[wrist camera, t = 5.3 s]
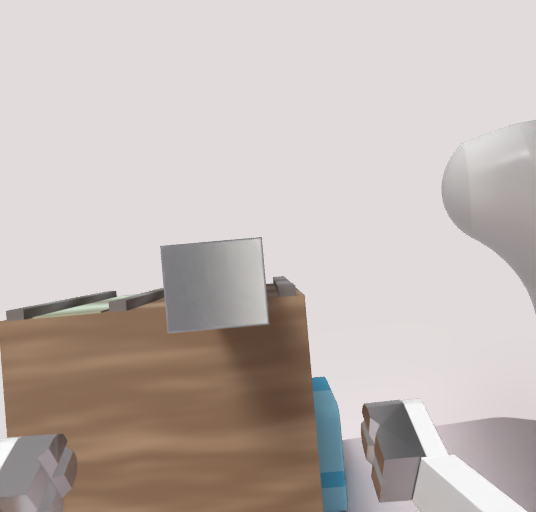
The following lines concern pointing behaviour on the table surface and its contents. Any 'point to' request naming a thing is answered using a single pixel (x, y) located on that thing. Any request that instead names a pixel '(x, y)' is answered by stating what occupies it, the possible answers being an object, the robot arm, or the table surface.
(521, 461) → the table surface
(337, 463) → the blue box
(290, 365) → the slot shelf
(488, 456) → the table surface
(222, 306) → the bar
